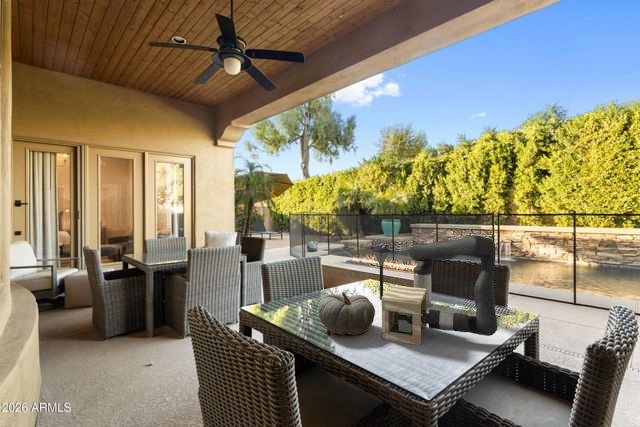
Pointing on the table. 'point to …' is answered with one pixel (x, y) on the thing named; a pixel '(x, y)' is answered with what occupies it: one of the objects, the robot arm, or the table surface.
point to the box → (406, 303)
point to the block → (405, 324)
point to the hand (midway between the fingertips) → (399, 314)
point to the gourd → (346, 313)
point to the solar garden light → (381, 263)
